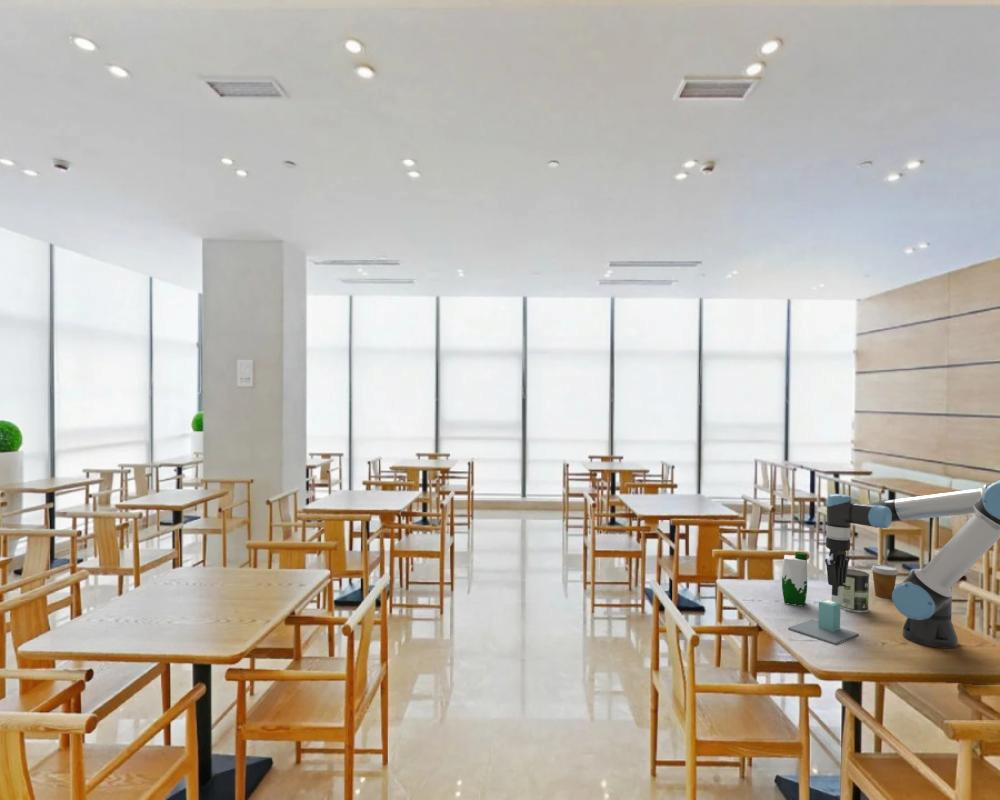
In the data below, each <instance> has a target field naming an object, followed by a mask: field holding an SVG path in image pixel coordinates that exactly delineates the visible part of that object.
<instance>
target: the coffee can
mask: <svg viewBox="0 0 1000 800" xmlns="http://www.w3.org/2000/svg"><path fill="white" fill-rule="evenodd" d="M869 577H870V574H869V573H868V572H865V571H863V570H858V569H852V568H850V569H849V568H848V569H847V576H846V583H843V584H845V587H844V586H842V601H841V605H840V609H841V610H844V609H845V611H848V612H852V613H860V614H861V613H868V612H869V611H870V609H869V592H870V591H869V587H870V586H869V585H870V582H869V581H870V578H869Z"/></svg>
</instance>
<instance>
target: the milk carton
mask: <svg viewBox="0 0 1000 800" xmlns="http://www.w3.org/2000/svg"><path fill="white" fill-rule="evenodd" d="M807 557H808V555H807V553H806V552H803V551H795V553H794V555H793V554H791V555H790V554H784V555H783V562H782V568H781V588H782V589H781V591H782V597H783V602H784V604H785V603H789V604H788V605H791V604H796V605H795V606H798V605H802V606H801V607H805V605H806V600H807V594H808V558H807Z"/></svg>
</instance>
